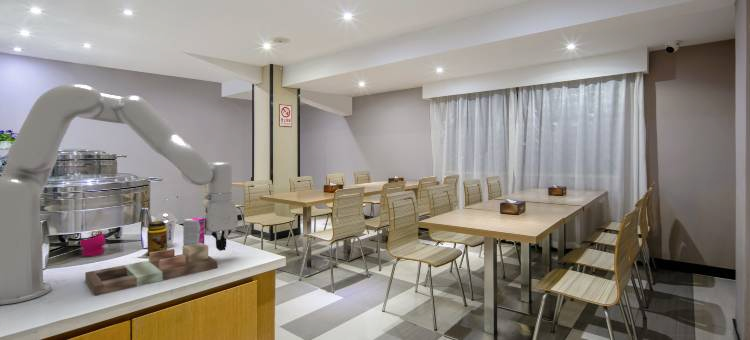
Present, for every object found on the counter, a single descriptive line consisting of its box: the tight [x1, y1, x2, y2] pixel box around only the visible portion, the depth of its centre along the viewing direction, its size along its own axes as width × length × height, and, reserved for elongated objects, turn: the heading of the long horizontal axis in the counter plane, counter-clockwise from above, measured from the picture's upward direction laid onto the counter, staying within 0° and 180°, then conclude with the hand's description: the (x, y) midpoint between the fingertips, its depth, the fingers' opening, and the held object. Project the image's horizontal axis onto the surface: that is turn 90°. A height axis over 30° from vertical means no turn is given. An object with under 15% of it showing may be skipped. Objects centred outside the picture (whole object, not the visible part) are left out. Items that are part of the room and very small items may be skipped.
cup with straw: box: [152, 196, 179, 249], centre depth 143 cm, size 8×9×20 cm
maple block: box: [182, 243, 209, 262], centre depth 121 cm, size 6×6×4 cm
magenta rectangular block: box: [79, 231, 106, 257], centre depth 131 cm, size 7×7×20 cm
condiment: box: [137, 221, 168, 259], centre depth 132 cm, size 7×8×12 cm
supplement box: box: [182, 217, 205, 247], centre depth 142 cm, size 6×6×12 cm
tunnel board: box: [84, 248, 218, 296], centre depth 112 cm, size 32×15×6 cm, turn 136°
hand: (221, 249), depth 127 cm, fingers closed
